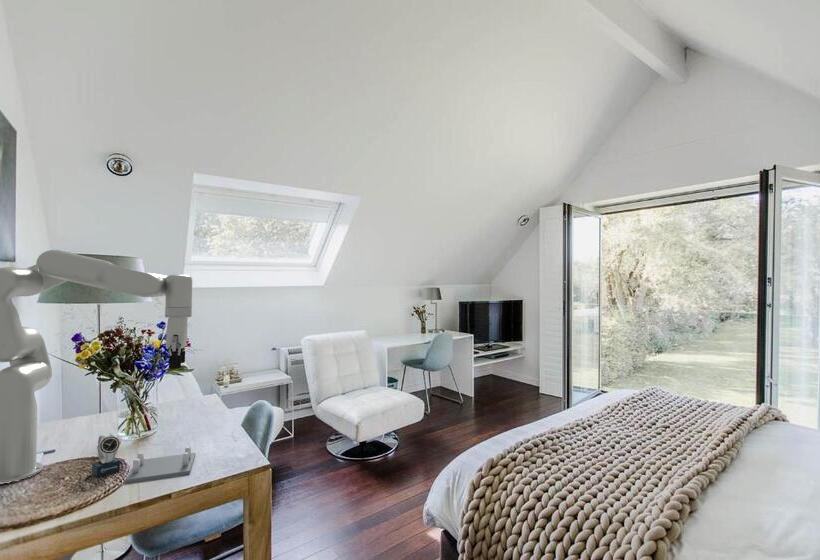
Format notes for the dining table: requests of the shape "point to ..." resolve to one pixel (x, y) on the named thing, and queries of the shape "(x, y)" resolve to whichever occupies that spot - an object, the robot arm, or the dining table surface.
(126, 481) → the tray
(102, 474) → the watch
